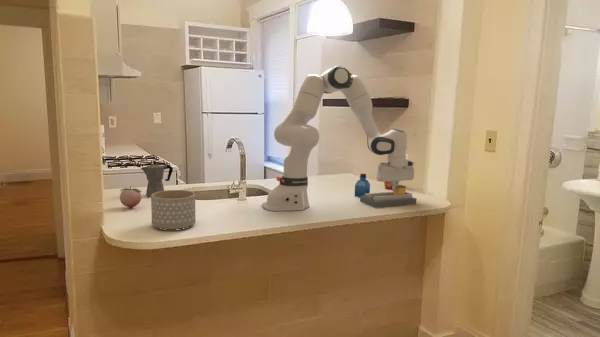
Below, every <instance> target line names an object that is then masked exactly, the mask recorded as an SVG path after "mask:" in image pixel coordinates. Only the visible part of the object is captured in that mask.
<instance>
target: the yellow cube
mask: <svg viewBox="0 0 600 337" xmlns="http://www.w3.org/2000/svg"><path fill="white" fill-rule="evenodd" d="M406 188H407V186H406V185H403V184H398V185H397V189H396V190H392V192H393V195H403V194H405V192H407V190H406Z"/></svg>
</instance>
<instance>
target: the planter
mask: <svg viewBox="0 0 600 337" xmlns="http://www.w3.org/2000/svg"><path fill="white" fill-rule="evenodd" d="M150 200H151V202H150V203H151V205H150V208H151V209H150V210H151V226H153V227H154V228H156V229H158V228H161V229H166V230H176V229H183V228H187V227H189V226H190V227H192V226H193V225H195V224H196V223H197V222H196V193H195V192H194V191H192V190H191V191H190V190H185V189H184V190H183V189H170V190H169V189H167V190H164V191H159V192H155V193H153V194H152V195H151V199H150ZM190 227H189V228H190ZM187 229H188V228H187ZM166 230H165V231H166ZM183 230H184V229H183ZM176 231H177V230H176Z"/></svg>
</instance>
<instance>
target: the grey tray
mask: <svg viewBox="0 0 600 337" xmlns="http://www.w3.org/2000/svg"><path fill="white" fill-rule="evenodd" d="M359 202H360V203H362V204H363V205H364V204H365V205H367V206H369V207H372V208H374V209H381V208H392V207H403V206H405V207H406V206H413V205H417V198H416V197H413V193H411V192H408V191H406V192H405V194H403V195H393V191H382V192H372V193H371V192H370V193H366V194H365V196H360V197H359Z"/></svg>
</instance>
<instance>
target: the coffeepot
mask: <svg viewBox="0 0 600 337" xmlns="http://www.w3.org/2000/svg"><path fill="white" fill-rule="evenodd" d="M140 169H141V170H142V171H143V172H144V174H145V176H146V180H147V181H148V182H147V186H146V191H145V193H146V194H145V197H146V196H147V198H149V197H151V195H152V194H153V193H155V192H159V191H165V188H164V184H163V180H164V181H165V182H169V181H171V180H170V179H171V176H172V173H173V170H174V167H172V166H171V165H170V164H163V165H161V164H157V160H153V161H152V164H151V165H150V164H149V165H146V166H142V167H141V168H140ZM165 170H168V174H167V178H164V172H165ZM163 178H164V179H163Z"/></svg>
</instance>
